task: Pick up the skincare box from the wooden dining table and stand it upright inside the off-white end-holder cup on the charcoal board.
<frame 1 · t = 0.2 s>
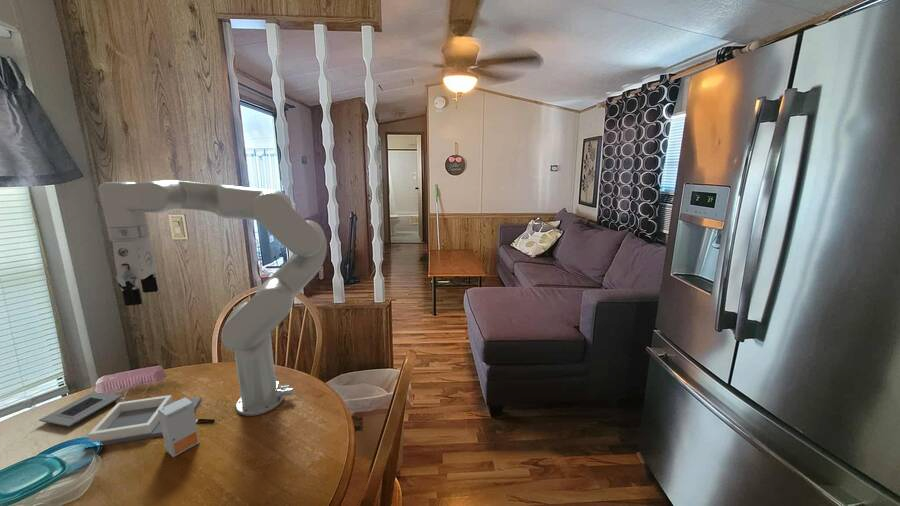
hand: (142, 297, 92), 36 cm above the table, tool pointing down, fingers open, 9 cm apart
holder board: (148, 422, 99), on the table
grey slotted tray: (84, 413, 103), on the table
skincare box: (183, 447, 91), on the table
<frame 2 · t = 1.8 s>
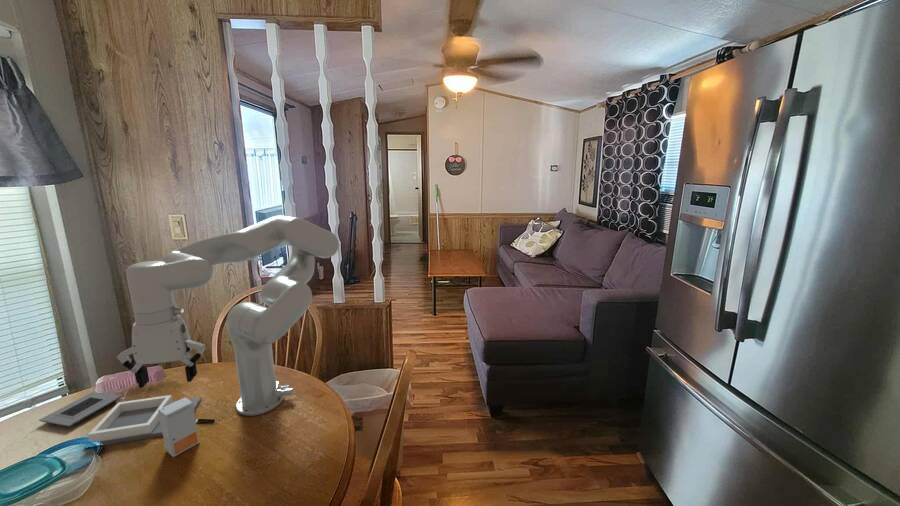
hand: (168, 381, 86), 19 cm above the table, tool pointing down, fingers open, 9 cm apart
nothing on the table moved.
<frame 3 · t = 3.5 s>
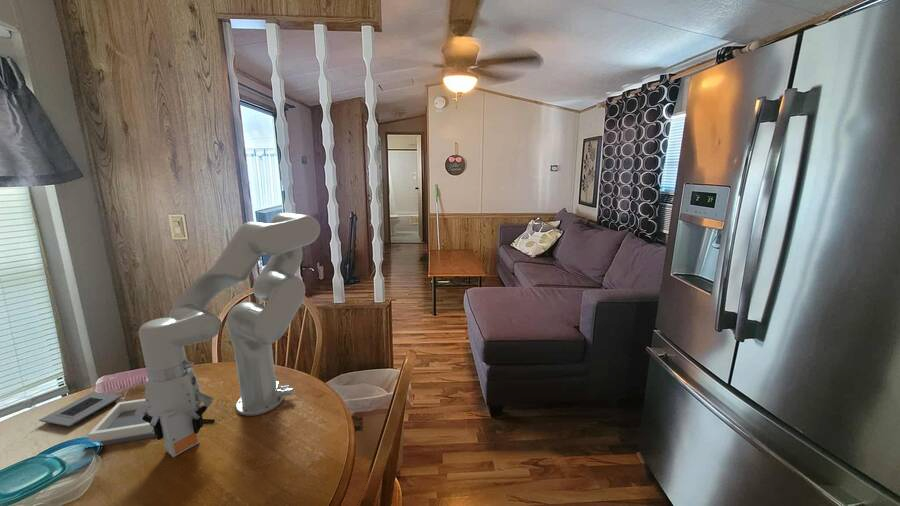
hand: (180, 432, 90), 4 cm above the table, tool pointing down, fingers closed on skincare box, 7 cm apart
skincare box: (183, 447, 91), on the table, touching gripper
everything else where it was.
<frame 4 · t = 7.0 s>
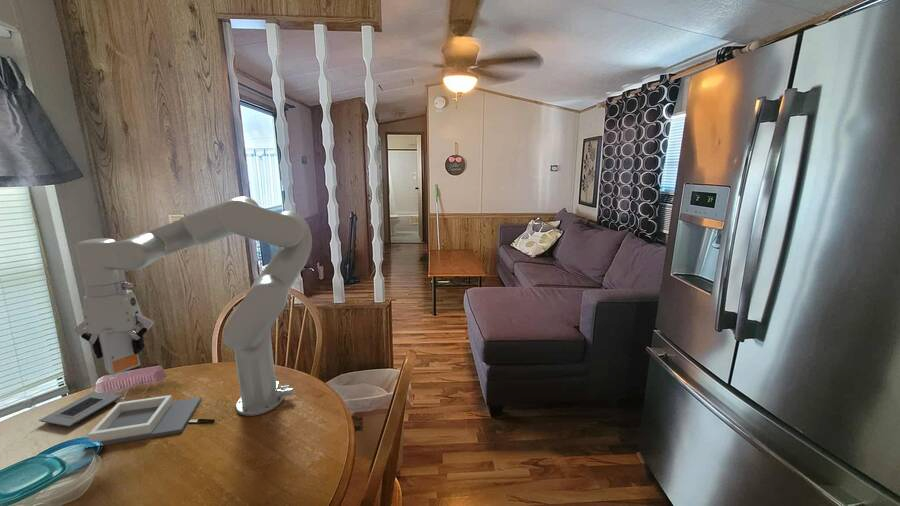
hand: (120, 353, 93), 22 cm above the table, tool pointing down, fingers closed on skincare box, 7 cm apart
skincare box: (124, 368, 94), point 17 cm above the table, touching gripper
everything else where it was.
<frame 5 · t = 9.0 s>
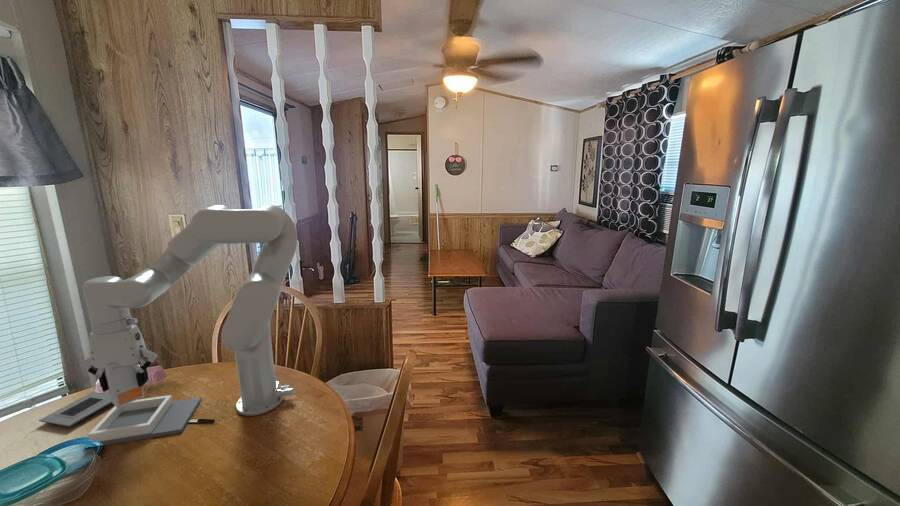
hand: (125, 385, 96), 12 cm above the table, tool pointing down, fingers closed on skincare box, 7 cm apart
skincare box: (129, 400, 97), point 8 cm above the table, touching gripper
everything else where it was.
when the fingers open (7 cm above the table, at t = 10.6 s): skincare box drops 1 cm, resting on holder board.
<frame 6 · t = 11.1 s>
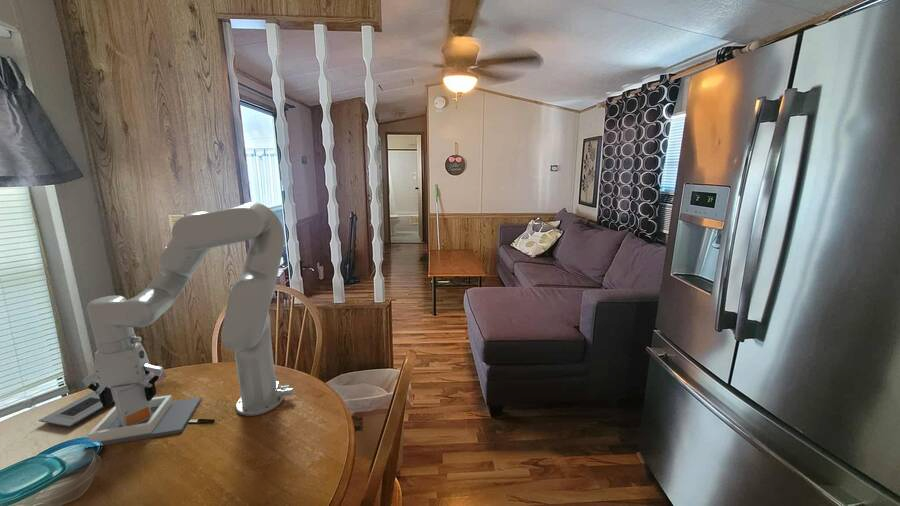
hand: (130, 401, 97), 7 cm above the table, tool pointing down, fingers open, 9 cm apart
skincare box: (136, 421, 98), point 1 cm above the table, touching holder board
everything else where it was.
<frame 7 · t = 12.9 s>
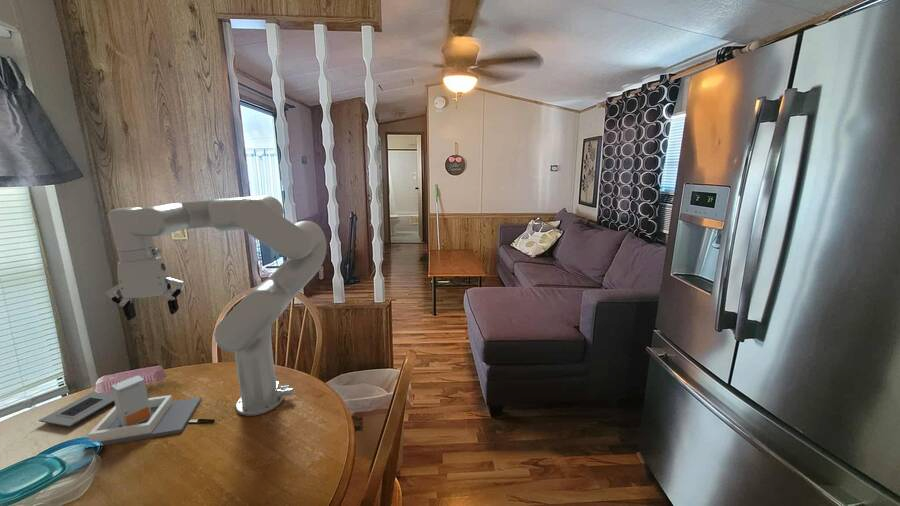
hand: (153, 315, 98), 29 cm above the table, tool pointing down, fingers open, 9 cm apart
nothing on the table moved.
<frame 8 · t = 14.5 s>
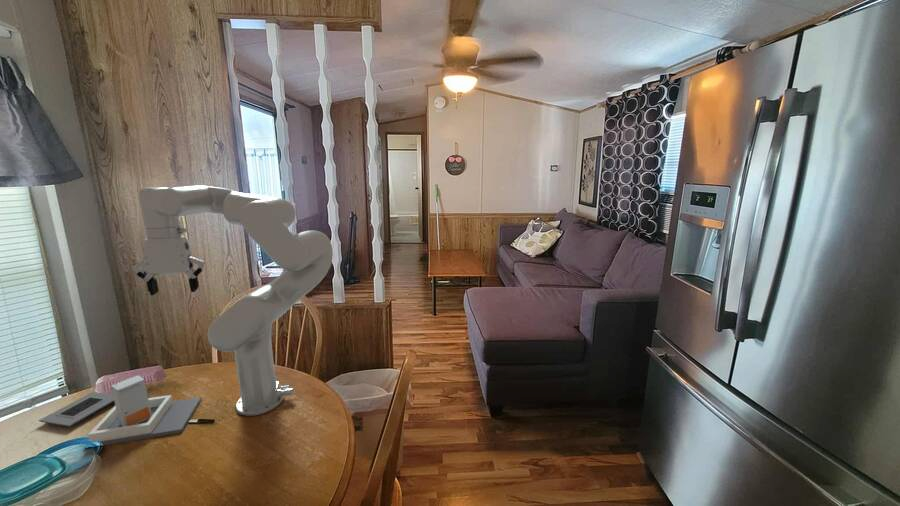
hand: (174, 292, 102), 34 cm above the table, tool pointing down, fingers open, 9 cm apart
nothing on the table moved.
at the end: skincare box 0.4 cm from the target spot on the holder board, point 0.8 cm above the holder board's base; skincare box tilted 0°; the gripper is holding nothing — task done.
